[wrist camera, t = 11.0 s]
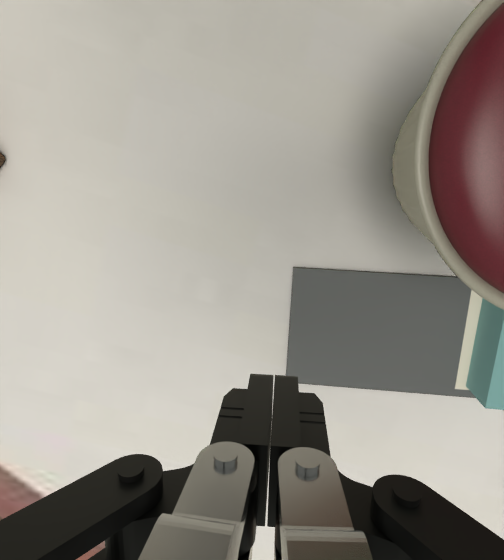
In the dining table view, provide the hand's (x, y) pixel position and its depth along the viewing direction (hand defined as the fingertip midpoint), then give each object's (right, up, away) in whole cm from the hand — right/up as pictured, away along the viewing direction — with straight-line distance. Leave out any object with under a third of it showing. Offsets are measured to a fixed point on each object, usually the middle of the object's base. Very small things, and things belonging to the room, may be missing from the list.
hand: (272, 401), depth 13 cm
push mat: (+17, -1, +25) cm, 31 cm away
